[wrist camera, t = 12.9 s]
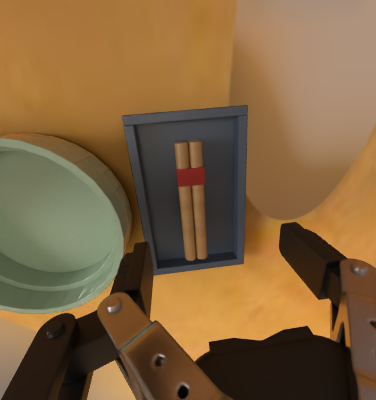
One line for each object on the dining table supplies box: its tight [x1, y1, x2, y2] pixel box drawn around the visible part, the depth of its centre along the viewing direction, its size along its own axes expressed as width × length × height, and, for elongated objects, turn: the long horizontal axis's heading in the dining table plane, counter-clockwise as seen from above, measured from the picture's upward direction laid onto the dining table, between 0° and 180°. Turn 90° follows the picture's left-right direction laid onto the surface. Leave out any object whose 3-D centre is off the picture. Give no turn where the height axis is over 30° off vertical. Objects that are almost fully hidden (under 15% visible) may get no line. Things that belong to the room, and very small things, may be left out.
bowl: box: [0, 133, 132, 314], centre depth 19 cm, size 16×16×5 cm
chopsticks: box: [174, 139, 207, 261], centre depth 20 cm, size 12×2×2 cm, turn 5°
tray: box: [122, 105, 248, 275], centre depth 21 cm, size 17×11×2 cm, turn 5°
